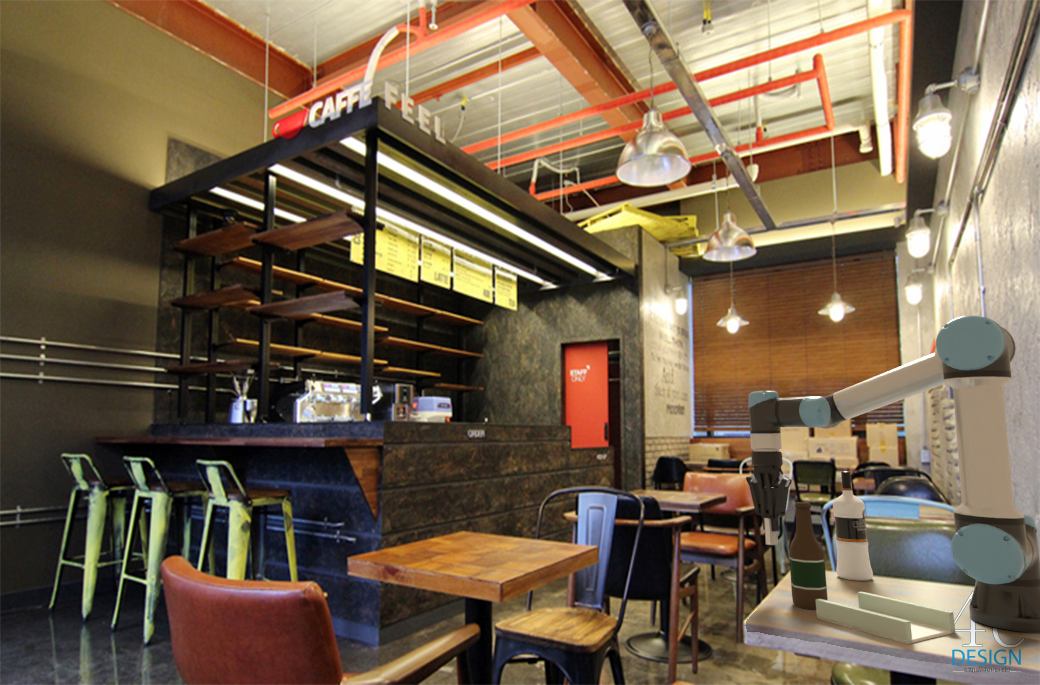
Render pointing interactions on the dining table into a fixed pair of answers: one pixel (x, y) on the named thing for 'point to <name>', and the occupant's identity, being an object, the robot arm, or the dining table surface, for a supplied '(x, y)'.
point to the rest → (889, 618)
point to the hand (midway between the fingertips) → (772, 544)
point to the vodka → (851, 534)
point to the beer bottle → (806, 562)
